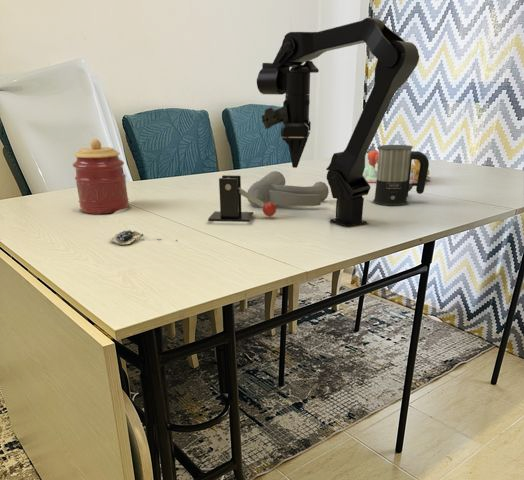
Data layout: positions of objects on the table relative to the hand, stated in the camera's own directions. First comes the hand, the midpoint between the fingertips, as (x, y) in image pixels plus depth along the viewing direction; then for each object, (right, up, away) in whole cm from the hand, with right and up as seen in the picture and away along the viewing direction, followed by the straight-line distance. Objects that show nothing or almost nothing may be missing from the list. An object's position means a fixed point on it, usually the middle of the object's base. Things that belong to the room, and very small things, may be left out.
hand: (295, 164), depth 128 cm
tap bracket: (-16, -14, -1) cm, 21 cm away
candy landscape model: (+37, +12, +48) cm, 62 cm away
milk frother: (+29, -3, +19) cm, 35 cm away
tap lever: (-12, -10, -3) cm, 16 cm away
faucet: (0, -5, +18) cm, 18 cm away
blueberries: (-37, -21, -20) cm, 47 cm away
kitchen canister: (-51, -8, +11) cm, 53 cm away
